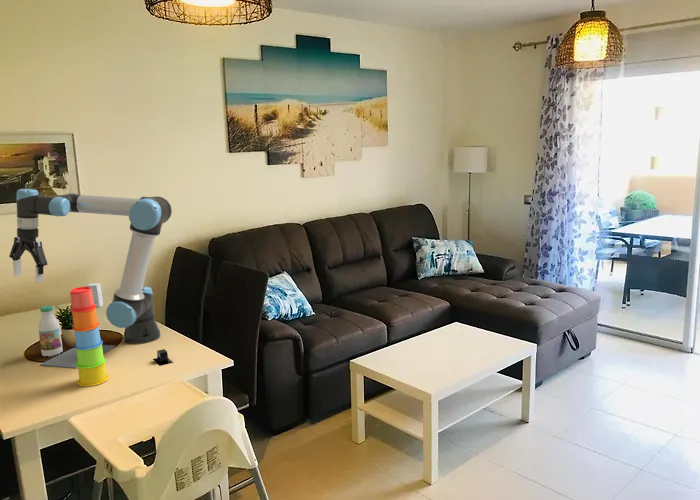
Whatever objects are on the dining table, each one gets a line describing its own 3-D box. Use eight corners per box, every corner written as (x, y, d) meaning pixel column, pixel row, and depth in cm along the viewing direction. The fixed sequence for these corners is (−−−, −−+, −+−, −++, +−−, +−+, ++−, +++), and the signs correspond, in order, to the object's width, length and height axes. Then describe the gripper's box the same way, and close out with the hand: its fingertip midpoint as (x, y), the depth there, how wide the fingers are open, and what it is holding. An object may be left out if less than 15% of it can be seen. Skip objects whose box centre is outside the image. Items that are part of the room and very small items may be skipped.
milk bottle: (43, 352, 233) (37, 305, 230) (63, 349, 236) (58, 303, 232) (40, 358, 226) (34, 310, 222) (61, 355, 229) (55, 308, 225)
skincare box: (103, 305, 303) (101, 283, 301) (99, 307, 298) (97, 285, 296) (92, 305, 303) (90, 283, 301) (88, 307, 299) (85, 285, 297)
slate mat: (115, 346, 237) (115, 345, 237) (75, 368, 214) (75, 367, 214) (82, 344, 241) (82, 343, 241) (40, 365, 218) (39, 364, 218)
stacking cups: (114, 380, 203) (104, 286, 196) (85, 389, 195) (74, 292, 189) (101, 373, 209) (91, 282, 203) (72, 381, 202) (61, 288, 196)
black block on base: (177, 364, 217) (176, 353, 216) (158, 369, 213) (157, 357, 212) (167, 355, 227) (166, 344, 226) (148, 359, 223) (147, 348, 222)
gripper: (-2, 223, 228) (0, 274, 232) (39, 233, 218) (40, 286, 222) (16, 222, 235) (17, 271, 239) (57, 231, 224) (57, 282, 228)
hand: (28, 278), depth 230 cm, fingers open, 13 cm apart
